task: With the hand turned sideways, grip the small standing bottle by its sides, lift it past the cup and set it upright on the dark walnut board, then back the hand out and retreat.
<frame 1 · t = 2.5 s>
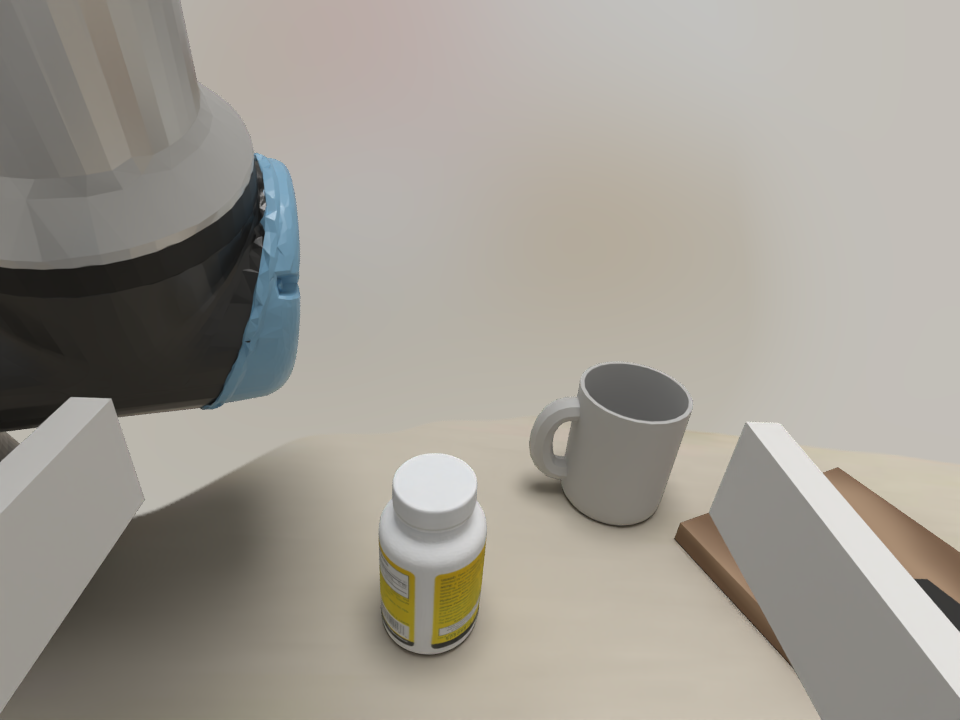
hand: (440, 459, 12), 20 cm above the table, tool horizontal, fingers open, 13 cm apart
supplement bottle: (429, 612, 30), on the table
cup: (589, 491, 39), on the table
walnut board: (834, 573, 34), on the table
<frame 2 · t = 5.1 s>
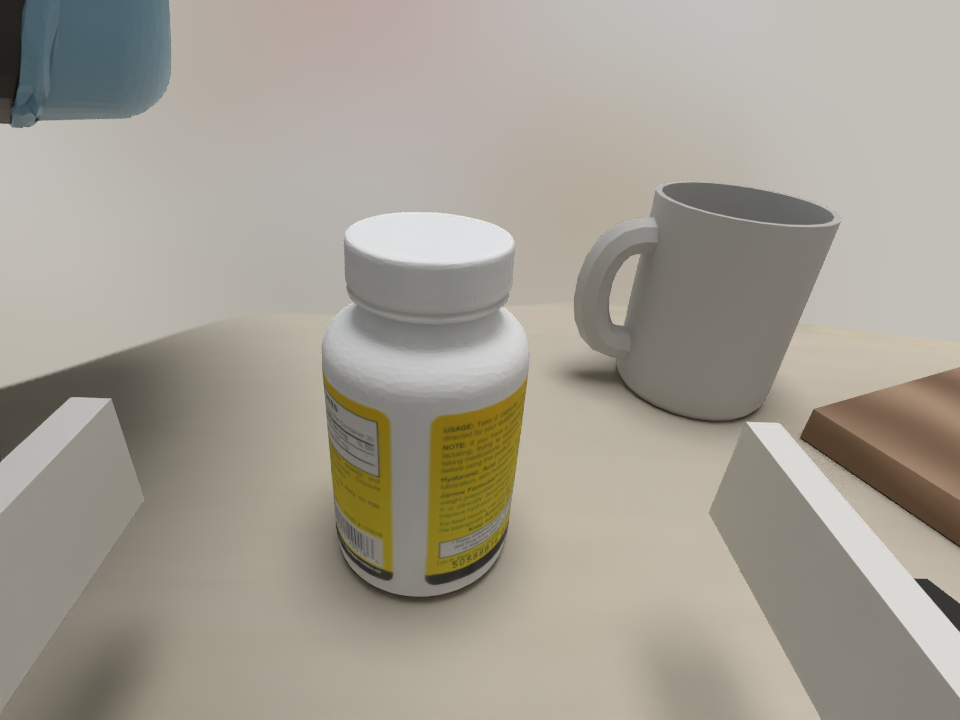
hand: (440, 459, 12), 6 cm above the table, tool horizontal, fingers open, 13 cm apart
supplement bottle: (422, 533, 17), on the table
cup: (658, 382, 27), on the table
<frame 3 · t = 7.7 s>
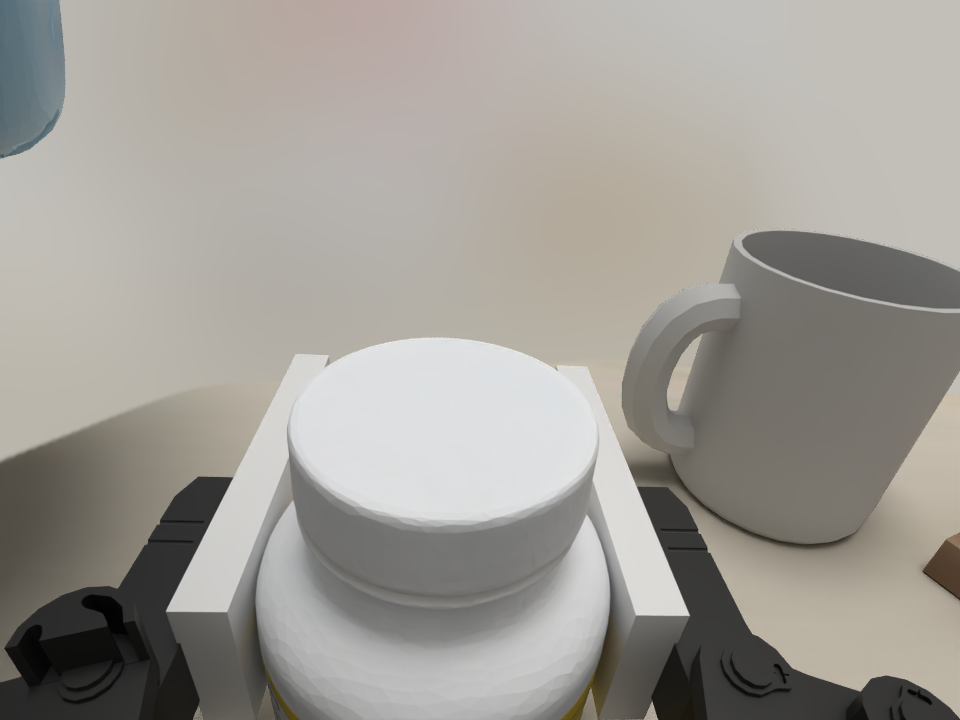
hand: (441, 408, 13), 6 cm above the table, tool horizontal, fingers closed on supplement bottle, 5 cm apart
cup: (723, 479, 21), on the table
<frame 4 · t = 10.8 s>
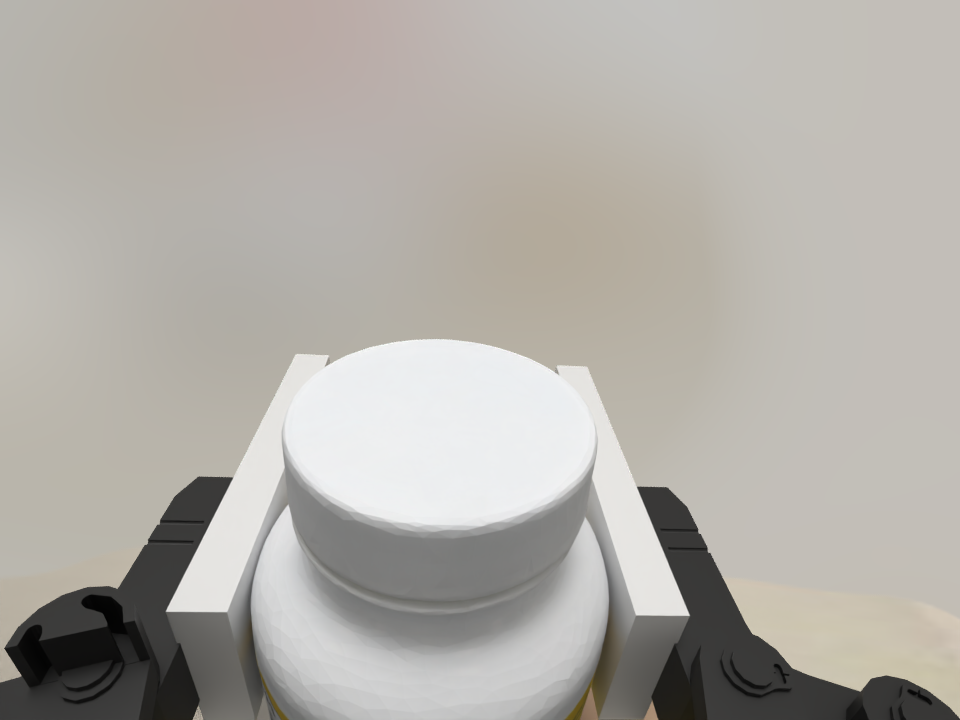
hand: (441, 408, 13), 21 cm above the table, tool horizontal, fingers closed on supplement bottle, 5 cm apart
when the fingers open (9 cm above the table, at t = 14.2 s): supplement bottle drops 1 cm, resting on walnut board.
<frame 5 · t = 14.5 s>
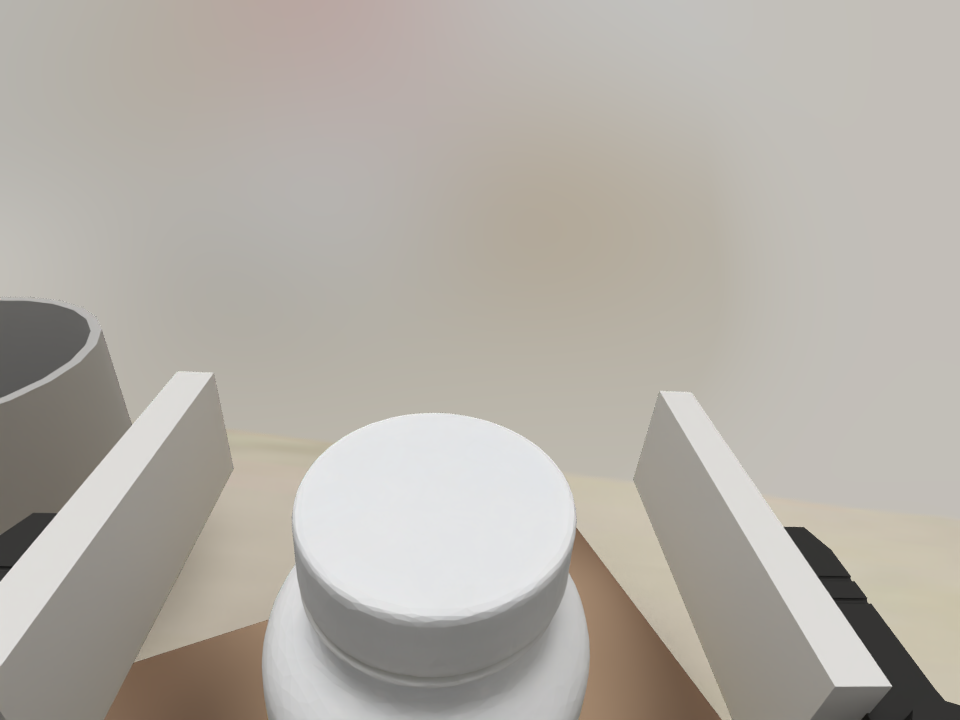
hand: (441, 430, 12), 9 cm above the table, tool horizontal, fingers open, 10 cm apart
cup: (8, 582, 18), on the table
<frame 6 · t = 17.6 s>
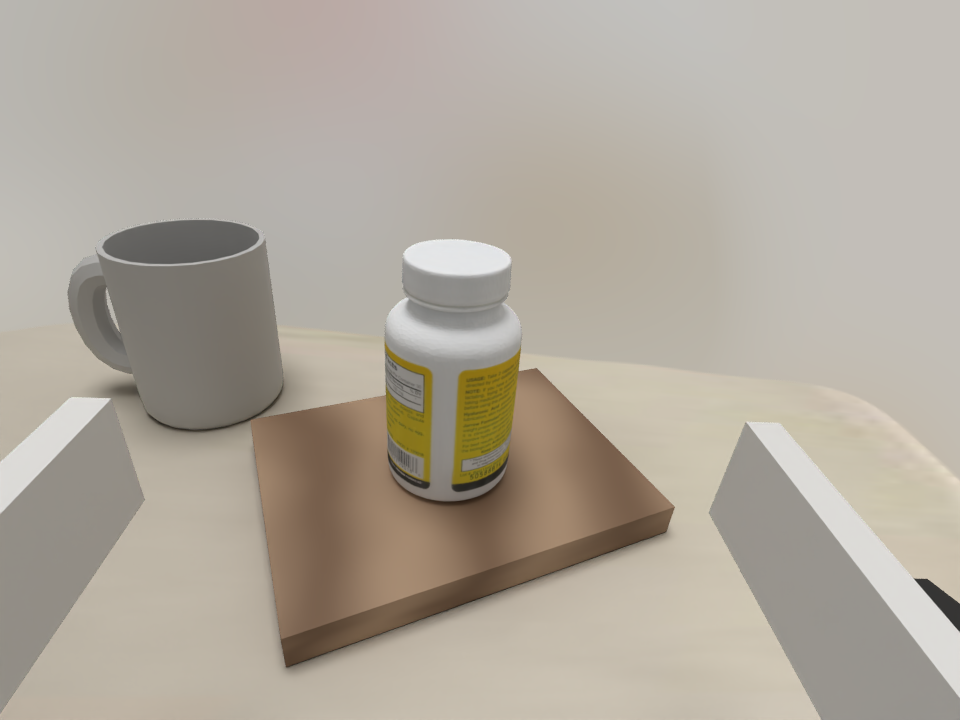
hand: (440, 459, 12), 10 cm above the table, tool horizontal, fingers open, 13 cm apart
supplement bottle: (447, 465, 24), point 1 cm above the table, touching walnut board
cup: (192, 395, 30), on the table
walnut board: (447, 485, 25), on the table
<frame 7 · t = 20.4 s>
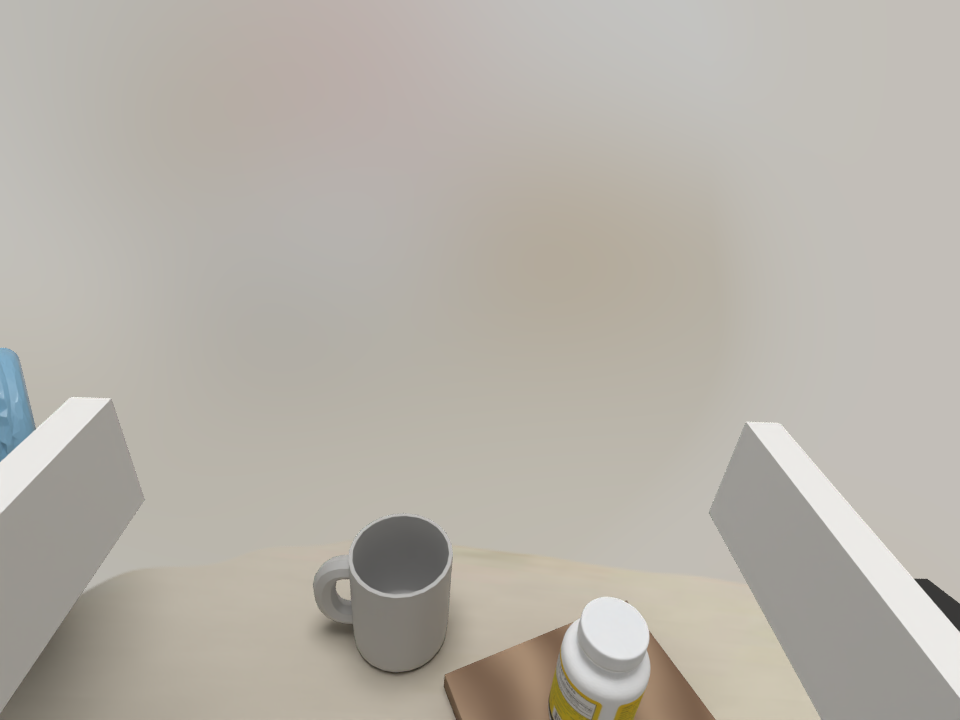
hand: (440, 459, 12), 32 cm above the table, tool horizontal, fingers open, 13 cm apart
supplement bottle: (585, 716, 36), point 1 cm above the table, touching walnut board
cup: (383, 630, 42), on the table
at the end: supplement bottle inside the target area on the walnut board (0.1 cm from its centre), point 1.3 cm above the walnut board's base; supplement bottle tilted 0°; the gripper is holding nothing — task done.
